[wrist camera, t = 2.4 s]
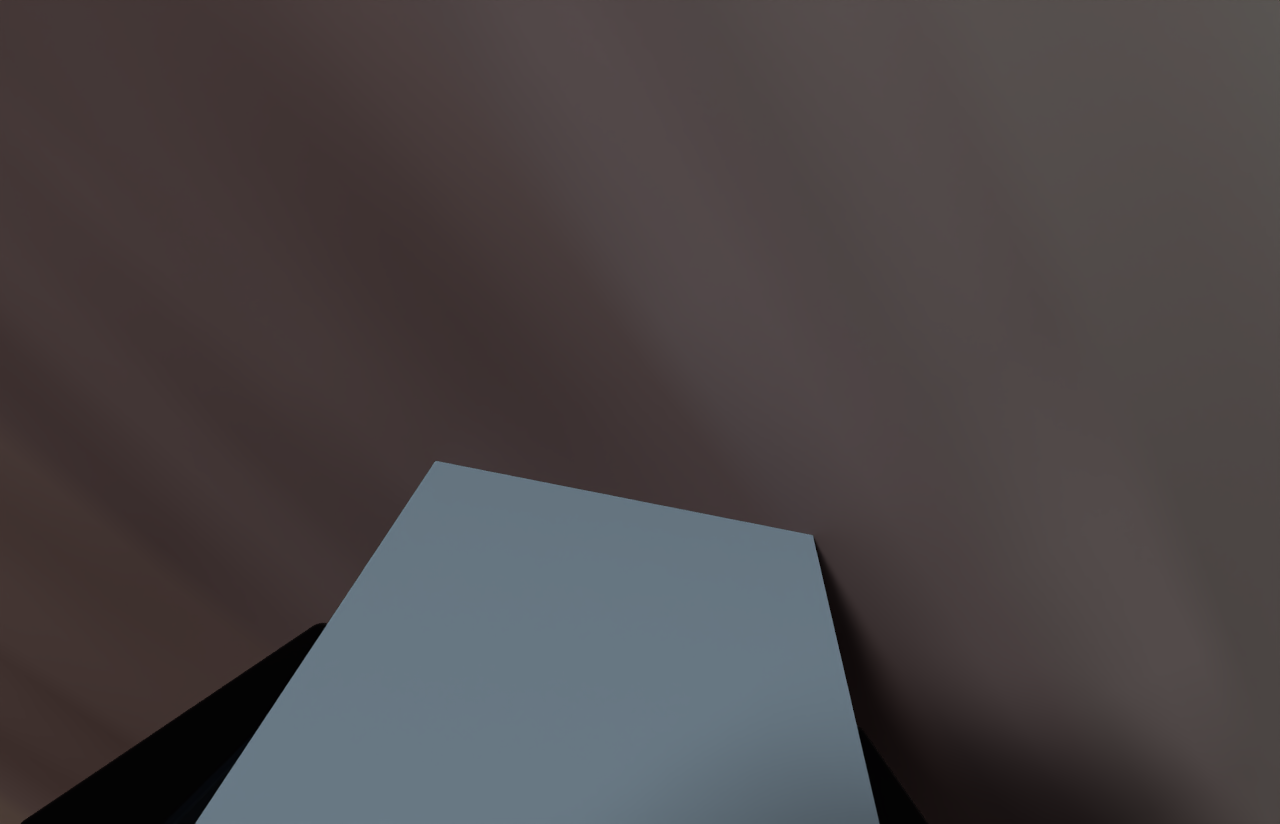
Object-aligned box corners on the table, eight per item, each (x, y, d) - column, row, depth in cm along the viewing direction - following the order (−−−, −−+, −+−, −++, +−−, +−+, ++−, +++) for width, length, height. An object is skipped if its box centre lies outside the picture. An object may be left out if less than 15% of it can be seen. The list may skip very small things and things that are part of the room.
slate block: (811, 531, 9) (916, 989, 5) (723, 769, 11) (736, 1226, 7) (437, 458, 9) (178, 849, 5) (425, 713, 11) (246, 1135, 7)
